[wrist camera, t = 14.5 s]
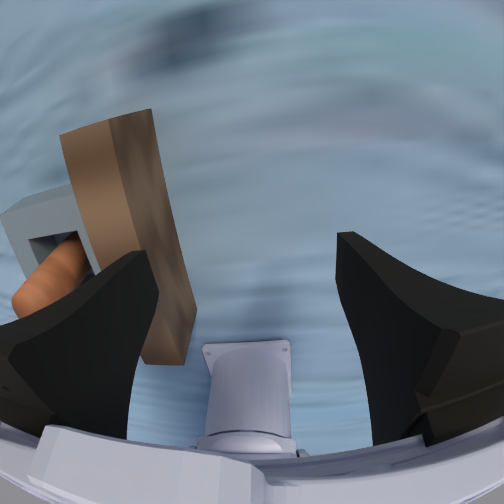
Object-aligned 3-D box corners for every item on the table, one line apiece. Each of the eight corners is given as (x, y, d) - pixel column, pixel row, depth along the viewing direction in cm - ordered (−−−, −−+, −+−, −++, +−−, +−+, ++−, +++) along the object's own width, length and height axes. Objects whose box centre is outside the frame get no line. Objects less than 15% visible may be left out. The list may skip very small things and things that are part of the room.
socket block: (156, 286, 24) (142, 319, 21) (67, 291, 25) (48, 318, 22) (121, 169, 19) (95, 188, 16) (27, 195, 20) (-1, 215, 16)
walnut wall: (197, 309, 25) (183, 365, 19) (163, 310, 25) (145, 364, 20) (151, 108, 17) (108, 119, 11) (110, 119, 17) (59, 135, 12)
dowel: (104, 264, 22) (58, 335, 15) (73, 266, 22) (26, 331, 15) (92, 228, 20) (35, 294, 14) (61, 232, 21) (4, 292, 14)
